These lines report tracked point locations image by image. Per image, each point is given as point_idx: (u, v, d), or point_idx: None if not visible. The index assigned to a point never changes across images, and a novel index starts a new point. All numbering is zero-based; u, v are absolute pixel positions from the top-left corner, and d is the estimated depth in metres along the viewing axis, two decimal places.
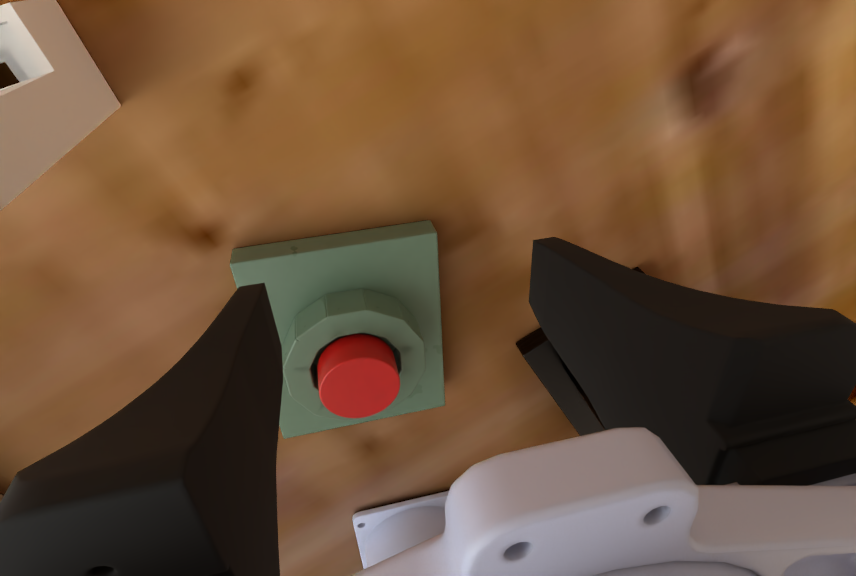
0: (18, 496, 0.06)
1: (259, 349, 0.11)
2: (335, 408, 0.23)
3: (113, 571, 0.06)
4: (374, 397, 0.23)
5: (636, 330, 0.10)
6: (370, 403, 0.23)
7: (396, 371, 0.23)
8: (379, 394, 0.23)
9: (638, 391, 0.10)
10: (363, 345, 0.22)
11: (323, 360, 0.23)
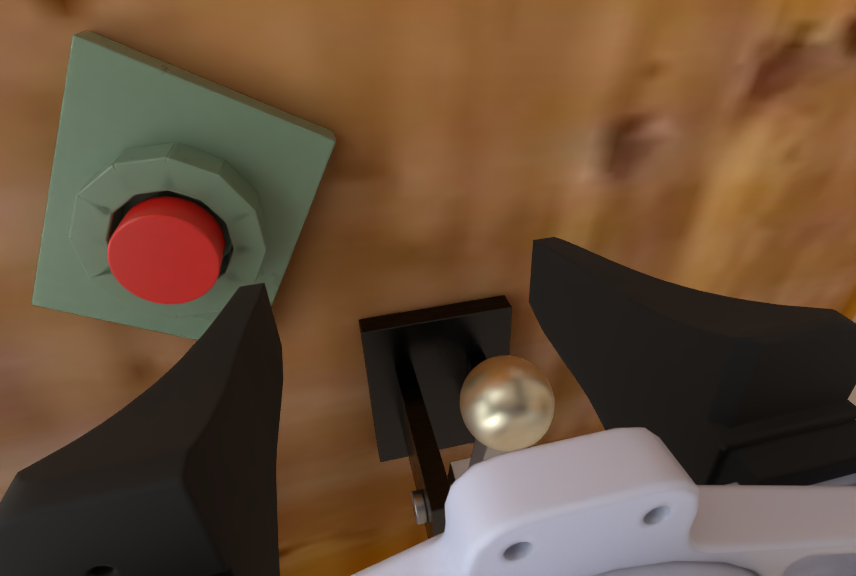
0: (19, 495, 0.06)
1: (259, 349, 0.11)
2: (121, 272, 0.18)
3: (113, 571, 0.06)
4: (177, 281, 0.18)
5: (636, 330, 0.10)
6: (168, 287, 0.18)
7: (219, 261, 0.18)
8: (185, 280, 0.18)
9: (638, 391, 0.10)
10: (194, 213, 0.18)
11: (135, 209, 0.18)
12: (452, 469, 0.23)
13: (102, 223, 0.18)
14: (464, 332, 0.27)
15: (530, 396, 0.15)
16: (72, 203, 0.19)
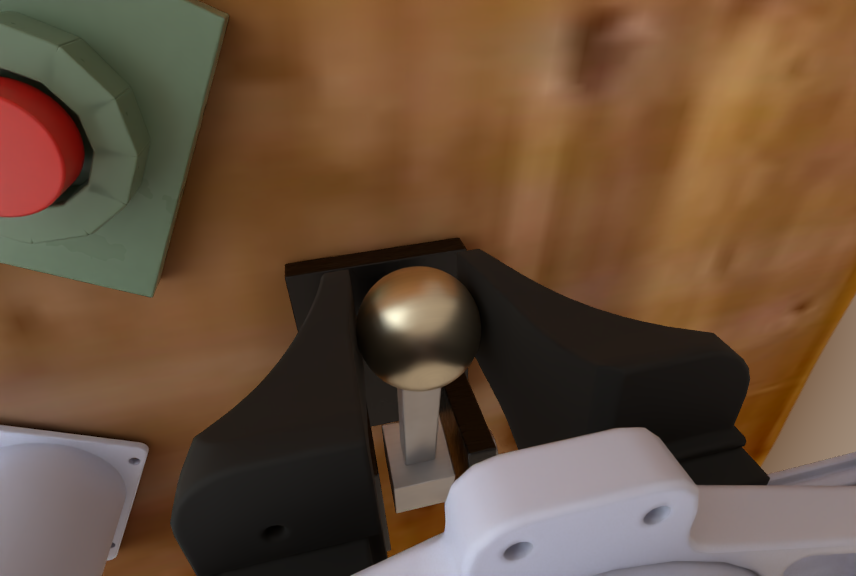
0: (210, 456, 0.06)
1: (354, 332, 0.11)
2: None
3: (282, 531, 0.07)
4: (9, 184, 0.14)
5: (532, 350, 0.09)
6: None
7: (64, 159, 0.14)
8: (20, 184, 0.14)
9: (537, 413, 0.10)
10: (27, 95, 0.14)
11: None
12: (383, 434, 0.19)
13: None
14: None
15: (440, 311, 0.11)
16: None
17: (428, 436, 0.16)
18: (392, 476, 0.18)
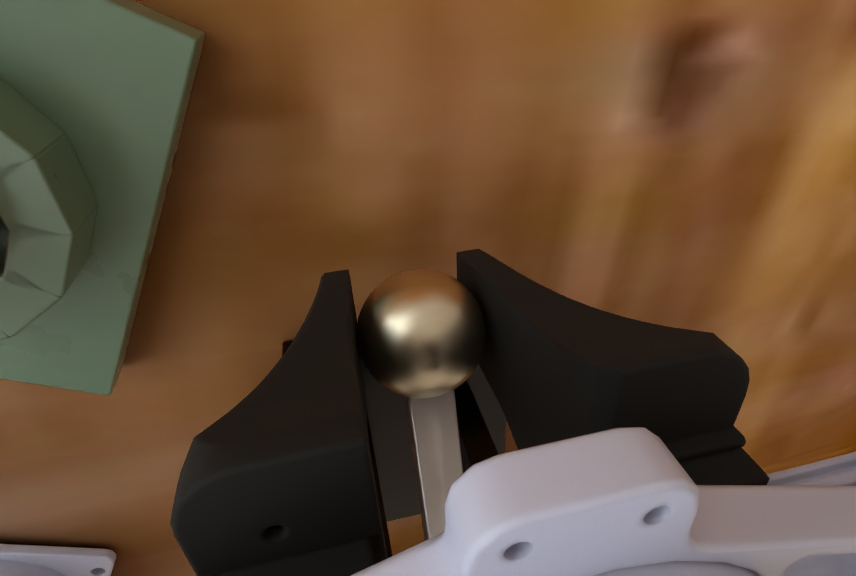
0: (210, 456, 0.06)
1: (355, 332, 0.11)
2: None
3: (283, 531, 0.07)
4: None
5: (532, 350, 0.09)
6: None
7: None
8: None
9: (537, 413, 0.10)
10: None
11: None
12: None
13: None
14: None
15: (434, 282, 0.11)
16: None
17: None
18: None
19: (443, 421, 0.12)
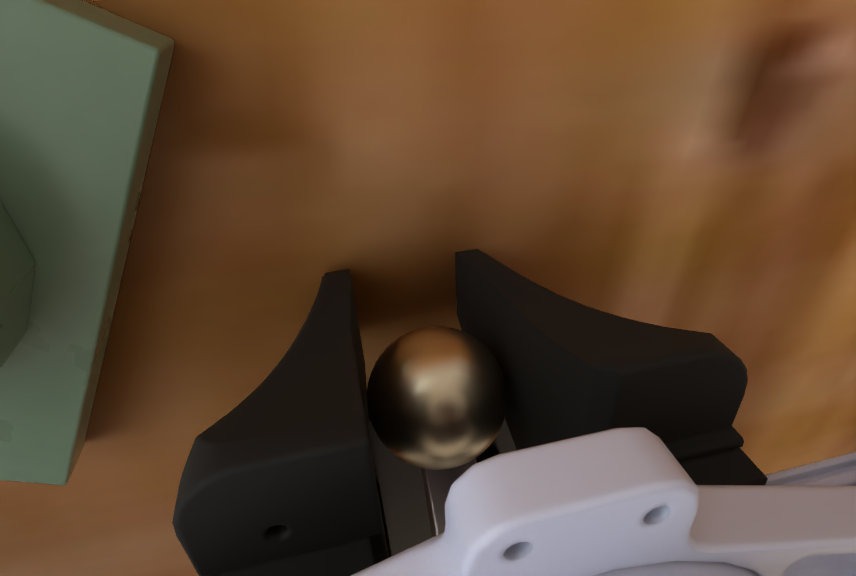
0: (212, 456, 0.06)
1: (356, 332, 0.11)
2: None
3: (284, 531, 0.07)
4: None
5: (530, 350, 0.09)
6: None
7: None
8: None
9: (535, 413, 0.10)
10: None
11: None
12: None
13: None
14: None
15: (448, 336, 0.10)
16: None
17: None
18: None
19: None
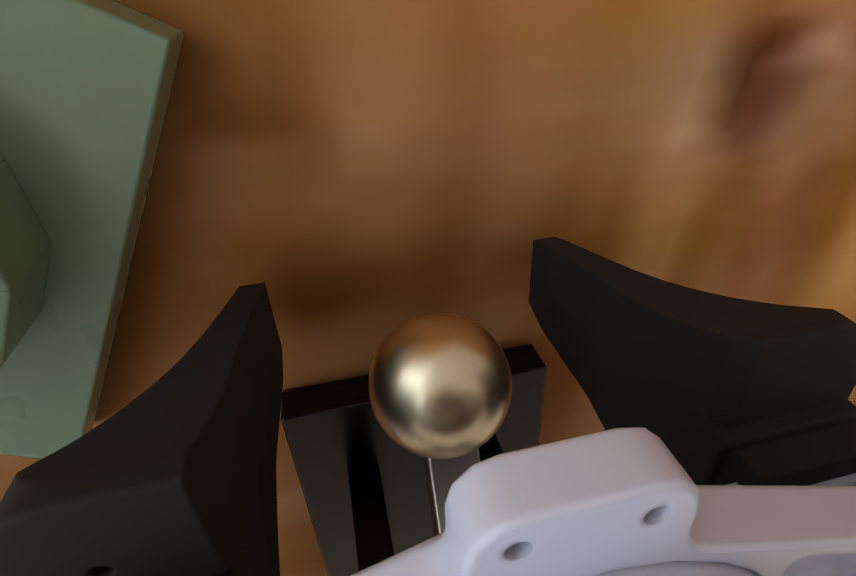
0: (19, 496, 0.06)
1: (259, 349, 0.11)
2: None
3: (113, 571, 0.06)
4: None
5: (636, 330, 0.10)
6: None
7: None
8: None
9: (638, 391, 0.10)
10: None
11: None
12: None
13: None
14: None
15: (453, 325, 0.10)
16: None
17: None
18: None
19: None
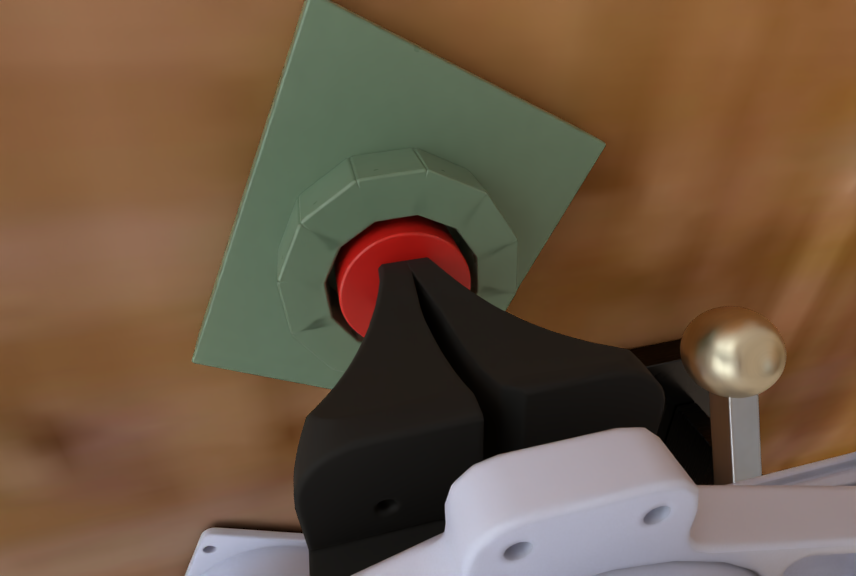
0: (333, 431, 0.06)
1: None
2: (352, 307, 0.13)
3: (392, 506, 0.07)
4: None
5: (459, 364, 0.09)
6: None
7: None
8: None
9: None
10: (442, 229, 0.14)
11: None
12: None
13: (324, 261, 0.13)
14: (681, 378, 0.22)
15: (752, 313, 0.16)
16: (266, 231, 0.14)
17: None
18: None
19: (750, 417, 0.17)
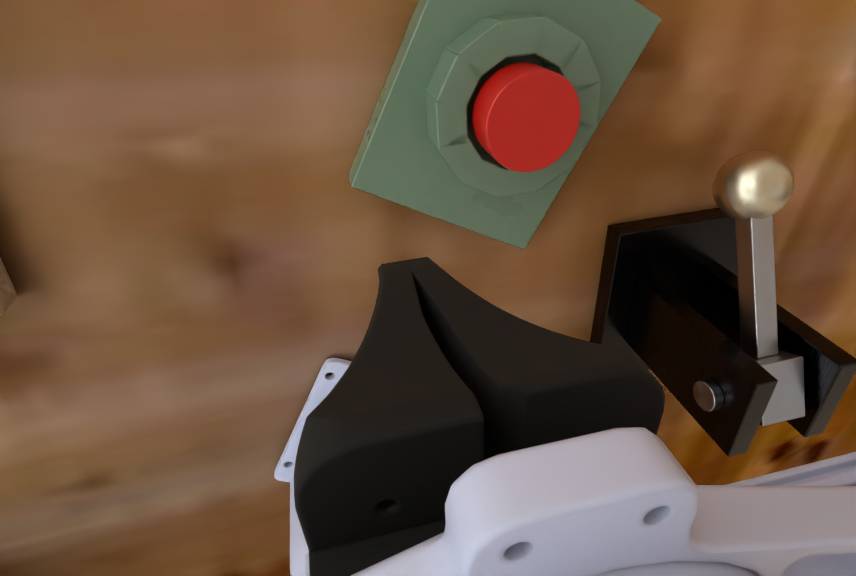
0: (333, 430, 0.06)
1: None
2: (494, 132, 0.18)
3: (392, 506, 0.07)
4: (537, 145, 0.19)
5: (459, 364, 0.09)
6: (527, 153, 0.19)
7: (577, 126, 0.19)
8: (544, 145, 0.19)
9: None
10: None
11: (507, 70, 0.18)
12: None
13: (469, 87, 0.18)
14: (708, 238, 0.27)
15: (768, 152, 0.21)
16: (418, 75, 0.19)
17: (771, 308, 0.23)
18: None
19: (767, 234, 0.22)
